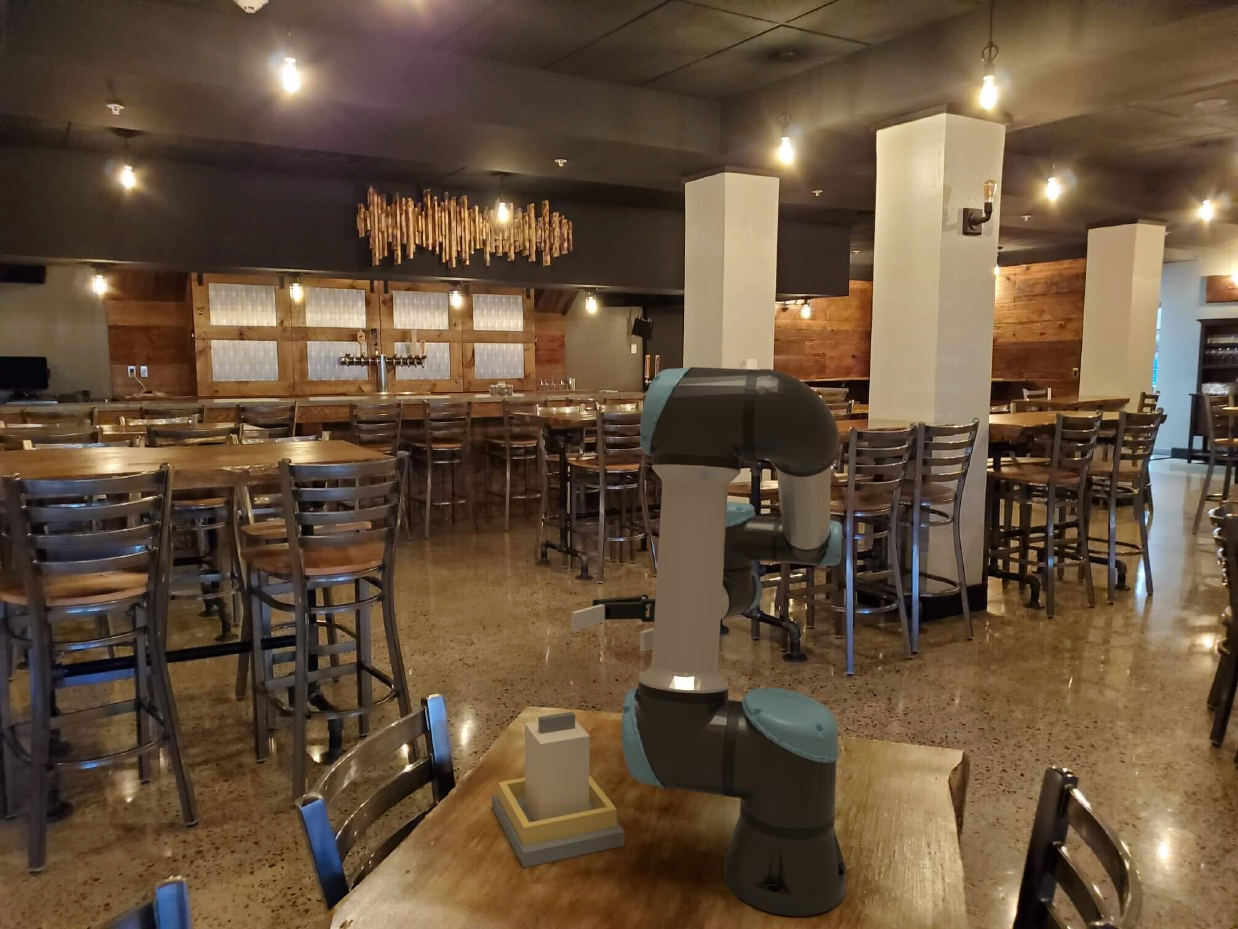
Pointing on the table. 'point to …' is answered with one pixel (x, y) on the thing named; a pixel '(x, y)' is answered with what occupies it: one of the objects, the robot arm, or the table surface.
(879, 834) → the table surface
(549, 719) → the beige rectangular block
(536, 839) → the tray
